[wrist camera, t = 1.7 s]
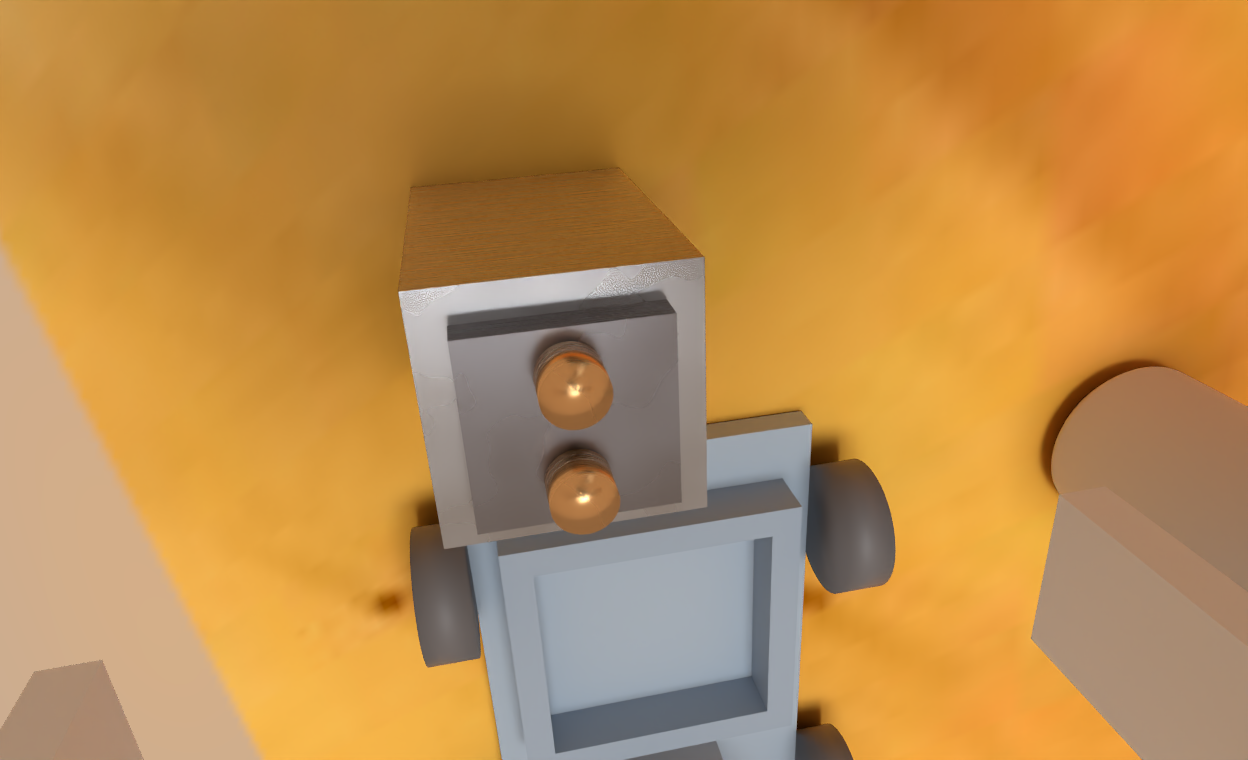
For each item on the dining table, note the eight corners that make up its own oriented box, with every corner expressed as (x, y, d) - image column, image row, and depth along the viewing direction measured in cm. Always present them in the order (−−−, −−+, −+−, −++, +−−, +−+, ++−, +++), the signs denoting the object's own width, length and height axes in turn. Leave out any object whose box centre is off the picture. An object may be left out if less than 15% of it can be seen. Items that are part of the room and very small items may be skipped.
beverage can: (1008, 483, 33) (1280, 722, 22) (1099, 336, 31) (1446, 524, 20) (1126, 516, 35) (1425, 750, 25) (1218, 381, 33) (1590, 573, 22)
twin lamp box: (410, 187, 24) (394, 326, 14) (618, 167, 25) (732, 285, 15) (441, 378, 27) (444, 602, 17) (628, 353, 28) (731, 554, 18)
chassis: (405, 468, 28) (400, 548, 24) (843, 404, 30) (904, 468, 26) (482, 865, 36) (487, 972, 32) (817, 792, 39) (859, 883, 35)
